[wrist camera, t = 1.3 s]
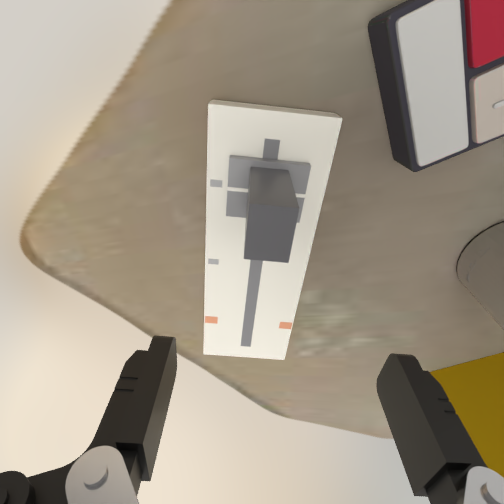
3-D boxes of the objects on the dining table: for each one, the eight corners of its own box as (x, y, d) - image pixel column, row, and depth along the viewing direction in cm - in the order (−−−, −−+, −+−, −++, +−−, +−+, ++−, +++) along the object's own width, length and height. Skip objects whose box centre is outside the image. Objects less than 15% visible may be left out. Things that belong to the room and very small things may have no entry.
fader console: (335, 112, 25) (342, 118, 23) (282, 343, 40) (284, 360, 38) (212, 99, 24) (208, 103, 22) (206, 338, 40) (203, 354, 38)
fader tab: (309, 163, 25) (329, 203, 18) (298, 218, 27) (312, 271, 21) (229, 154, 24) (220, 192, 18) (226, 212, 27) (217, 263, 20)
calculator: (639, 87, 21) (416, 177, 24) (579, 83, 25) (392, 162, 27) (686, -138, 15) (390, 13, 18) (601, -100, 19) (365, 21, 22)
